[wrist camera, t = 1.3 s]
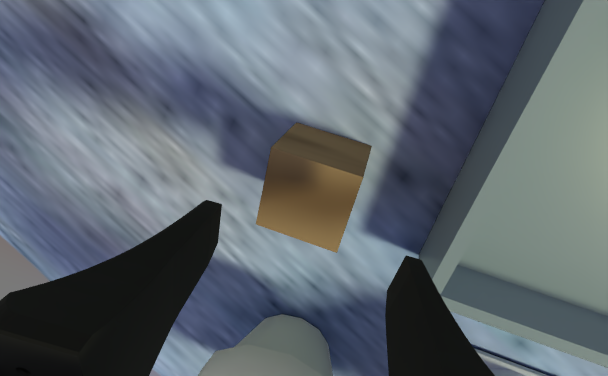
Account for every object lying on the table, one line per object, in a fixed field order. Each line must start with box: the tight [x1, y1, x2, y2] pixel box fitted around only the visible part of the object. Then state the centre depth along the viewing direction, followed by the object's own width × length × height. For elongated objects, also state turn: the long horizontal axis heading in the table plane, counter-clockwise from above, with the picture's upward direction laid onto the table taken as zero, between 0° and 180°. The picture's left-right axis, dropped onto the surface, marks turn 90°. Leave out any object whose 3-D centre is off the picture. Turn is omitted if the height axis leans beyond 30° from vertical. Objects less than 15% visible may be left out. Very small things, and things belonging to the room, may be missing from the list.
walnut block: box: [256, 123, 372, 253], centre depth 22 cm, size 5×5×5 cm
